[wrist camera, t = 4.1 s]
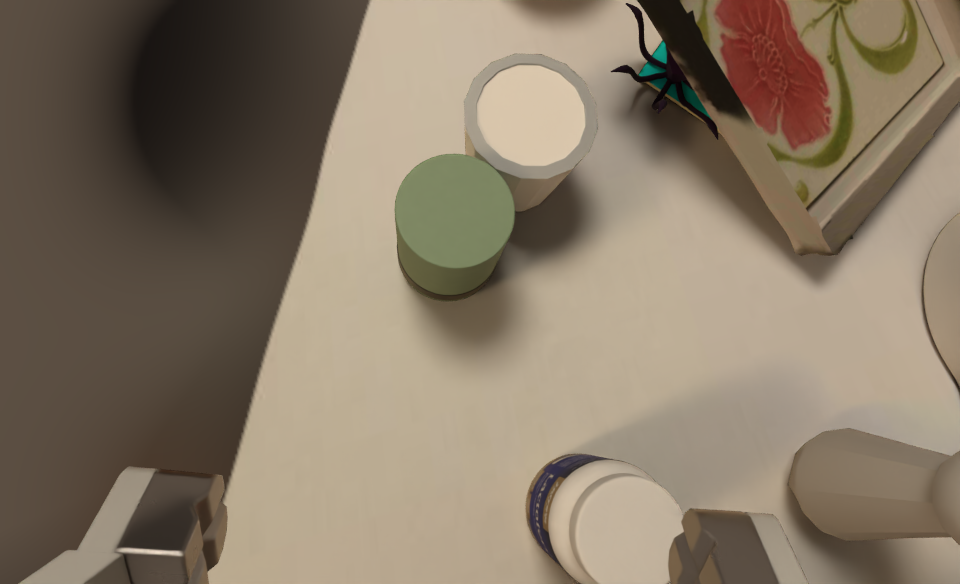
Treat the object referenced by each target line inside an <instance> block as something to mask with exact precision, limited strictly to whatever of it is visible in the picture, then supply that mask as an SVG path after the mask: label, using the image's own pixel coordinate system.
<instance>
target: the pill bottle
mask: <svg viewBox="0 0 960 584" xmlns="http://www.w3.org/2000/svg"><path fill="white" fill-rule="evenodd" d="M683 517H684V516H683V513H682V511H681V509H680V507H679V505H678V503H677V502H676V501H675V499H674V498H673V497H672V495H671V494H670V493H669V492H668V491H667V490H665V489H664V488H663V487H662V486H660V485H659V484H657V483H656V482H655V480H654V479H653V478H651V477H650V476H649V475H648V474H647V473H645V472H644V471H643V470H641V469H640V468H638V467H636V466H634V465H631V464H629V463H626V462H623V461H618V460H613V459H608V458H602V457H597V456H592V455H587V454H568V455H564V456H561V457H558V458H556V459H554V460H552V461H550V462H549V463H547V464H546V465H545V466H544V467H543V468H542V469H541V470H540V471H539V472H538V473H537V474H536V476H535V477H534V479H533V481H532V483H531V485H530V487H529V490H528V493H527V498H526V518H527V522H528V526H529V528H530V531H531V533H532V535H533V537H534V538H535V540H536V541H537V543H538V544H539V545H540V546H541V547H542V549H543V550H544V551H545V552H546V553H547V554H549V555H550V556H551V557H552V558H553V559H554V560H555V562H557V563H558V564H559V565H560V566H561V567H562V568H563V569H564V570H565V571H566V572H567V573H568V574H569V575H570V576H571V577H572V578H574V579H575V580H576V581H578V582H579V583H581V584H667V583H668V582H669V581H670V577H669V569H668V560H669V550H670V547H671V544H672V542H673V539H674V538H675V537H676V536H678V535H679V534H681V533H682V532H684V529H683V526H682V523H681V521H682V519H683Z"/></svg>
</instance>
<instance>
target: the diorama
mask: <svg viewBox="0 0 960 584" xmlns="http://www.w3.org/2000/svg"><path fill="white" fill-rule="evenodd" d="M626 5H627V6H628V7H629V8H630V9H631V10H632V12H633V13H634V15H635V18H636V19H637V22H638V27H639V45H640V50H641V53H642V55H643V57H644V58H645V59H646V60H647V61H648V62H647V63H646V64H645V66H644V67H643V69H642V70H641V71H640V73H639V74H638V75H637V74H636V73H635V71H634V70H633V69H632V68H631V67H629V66H628V65H624V66H620V67H618V68H616V69H614V70H612V71H611V72H623V73H629V74H631V76H632V77H633V78H634V80H636V81H637V82H646V83H647V84H648V85H650V86H651V87H653V88H654V89H656V90H657V91H659V92H660V93H659V94H658V96H657V97H656V99H655V100H654V102H653V104H652V109H653V110H657V109H658V113H657V114H659V113H660V112H661V111H662V110H663V109H664V108H665V107H666V105H667V101H666V100H664V99H663V97H664V96H666V97H668V98H669V99H671V100H672V101H673V102H675V103H676V104H678V105H679V106H681V107H682V108H684V109H685V110H687V111H688V112H690V113H691V114H693V115H694V116H696V117H697V118H698V119H700V120H701V121H703V122H704V123H706V124H707V125H708V127H709V129H710V130H711V131H712V133H713V134H714V135H715V137H716V139H717V140H718V132H719V133H720V131H719V129H718V128H717V126H716V124H715V122H714V121H713V120H712V119H711V118H710V116H709V114H708V113H707V111H706V109H705V108H704V106H703V104H702V103H701V101H700V100H699V98H698V96H697V94H696V93H695V91H694V89H693V88H692V86H691V84H690V83H689V81H688V80H687V78H686V76H685V75H684V73H683V72H682V70H681V68H680V67H679V65H678V64H677V63H676V61H675V60H674V58H673V56H672V54H671V53H670V51H669V49H668V48H667V46H666V44H665V43H664V41H662V42H661V43H660V45H659V46H658V48H657V49H656V50H655V52H654V53H653V55H652V56H651V55H650V54H649V53H648V51H647V49H646V47H645V43H644V22H643V17H642V12H641V11H640V10H639V8H637V7H635V6H633V5H631V4H628V3H626Z"/></svg>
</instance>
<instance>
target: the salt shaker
mask: <svg viewBox="0 0 960 584" xmlns="http://www.w3.org/2000/svg"><path fill="white" fill-rule="evenodd" d="M788 486H789V487H790V489H791V490H792V492H793V493H794V495H795V496H796V498H797V500H798V502H799V504H800V507H801V509H802V511H803V513H804V514H805V515H806V516H807V517H808V518H809V519H810V520H811V521H812V522H813V523H814V524H815V525H816V526H817V527H818V528H819V530H821V531H823V532H825V533H827V534H830V535H833V536H836V537H838V538H841V539H844V540H846V541H860V540H879V539H898V538H932V537H952V538H953V539H954V540H955V541H956V542H957V543H958V544H959V545H960V451H959V452H957V453H955V454H954V455H953V456H949V455H945V454H941V453H938V452H934V451H930V450H927V449H923V448H920V447H916V446H912V445H909V444H905V443H901V442H898V441H894V440H891V439H887V438H883V437H880V436H876V435H872V434H869V433H865V432H861V431H858V430H854V429H851V428H847V429H839V430H831V431H825V432H822V433H821V434H819V435H818V436H816V437H815V438H813V439H811V440H810V441H808V442H807V443H805V444H804V445H803V446H802V447H801V448H800V449H799V451H798V452H797V453H796V454H795V458H794V462H793V466H792V470H791V474H790V478H789V482H788Z"/></svg>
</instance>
